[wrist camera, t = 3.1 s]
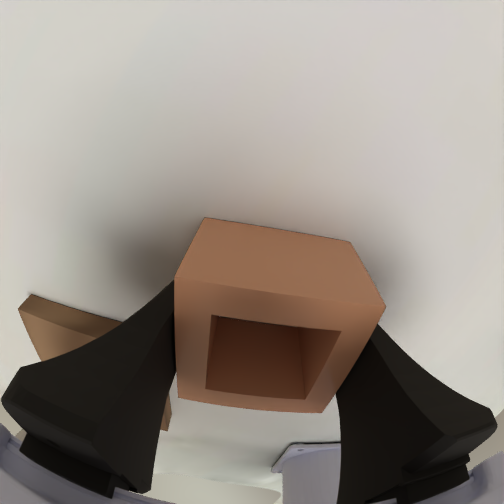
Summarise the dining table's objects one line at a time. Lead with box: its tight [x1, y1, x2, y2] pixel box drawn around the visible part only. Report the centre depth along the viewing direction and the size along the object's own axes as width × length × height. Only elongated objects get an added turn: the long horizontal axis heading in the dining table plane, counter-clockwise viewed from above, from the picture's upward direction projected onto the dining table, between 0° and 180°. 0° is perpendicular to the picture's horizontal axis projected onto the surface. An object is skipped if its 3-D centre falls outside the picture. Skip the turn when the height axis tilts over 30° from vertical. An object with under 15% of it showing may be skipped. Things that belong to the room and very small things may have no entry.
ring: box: [174, 218, 386, 413], centre depth 10 cm, size 6×6×4 cm
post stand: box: [18, 294, 172, 431], centre depth 13 cm, size 9×9×6 cm
